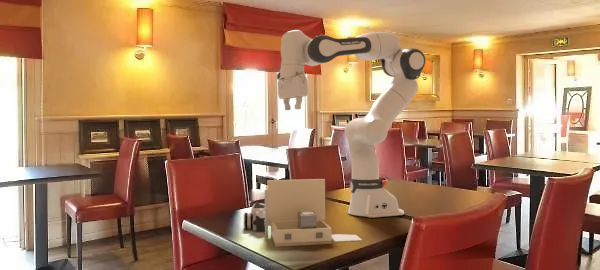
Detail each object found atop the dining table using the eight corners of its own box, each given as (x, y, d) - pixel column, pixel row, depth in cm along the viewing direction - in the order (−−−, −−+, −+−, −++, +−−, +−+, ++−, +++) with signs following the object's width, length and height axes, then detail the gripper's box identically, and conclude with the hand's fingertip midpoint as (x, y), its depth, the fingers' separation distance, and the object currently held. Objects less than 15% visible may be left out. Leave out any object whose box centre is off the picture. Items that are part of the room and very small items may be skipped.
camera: (245, 224, 176) (244, 198, 176) (267, 224, 177) (267, 198, 176) (243, 234, 160) (243, 206, 160) (268, 234, 161) (267, 205, 161)
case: (324, 233, 161) (324, 179, 161) (335, 244, 146) (334, 184, 145) (264, 235, 158) (263, 180, 157) (268, 247, 142) (267, 186, 142)
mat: (354, 234, 158) (354, 233, 158) (362, 241, 149) (362, 239, 149) (328, 235, 157) (328, 234, 157) (335, 242, 148) (335, 241, 148)
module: (312, 234, 154) (312, 209, 154) (316, 239, 147) (316, 213, 147) (297, 235, 154) (297, 210, 153) (301, 240, 147) (300, 214, 146)
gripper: (312, 70, 167) (312, 108, 167) (289, 76, 185) (289, 110, 185) (296, 69, 164) (296, 108, 164) (274, 75, 183) (275, 110, 183)
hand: (292, 109), depth 175 cm, fingers open, 8 cm apart
